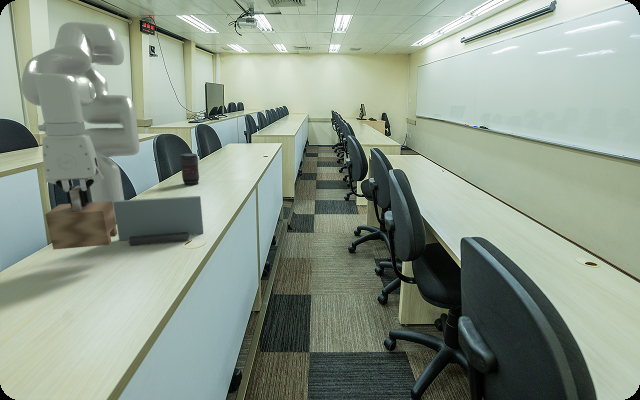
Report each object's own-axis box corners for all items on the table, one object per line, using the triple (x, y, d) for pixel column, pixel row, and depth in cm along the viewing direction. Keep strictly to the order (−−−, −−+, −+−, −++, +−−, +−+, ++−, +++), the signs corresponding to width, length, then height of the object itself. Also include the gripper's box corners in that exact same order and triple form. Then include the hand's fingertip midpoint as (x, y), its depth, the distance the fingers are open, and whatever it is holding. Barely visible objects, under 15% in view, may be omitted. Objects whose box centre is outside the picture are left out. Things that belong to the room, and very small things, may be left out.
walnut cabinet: (52, 249, 85) (40, 193, 81) (66, 237, 92) (55, 185, 88) (108, 245, 88) (99, 190, 84) (117, 233, 95) (109, 182, 91)
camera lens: (185, 186, 173) (182, 156, 169) (181, 183, 179) (178, 154, 175) (201, 184, 177) (199, 154, 173) (197, 181, 183) (194, 152, 179)
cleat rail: (129, 246, 102) (128, 239, 101) (131, 243, 104) (130, 236, 103) (188, 240, 106) (187, 234, 105) (189, 238, 108) (188, 231, 107)
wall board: (119, 240, 106) (113, 202, 102) (120, 238, 107) (114, 200, 104) (203, 233, 112) (200, 197, 108) (203, 231, 113) (200, 195, 110)
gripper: (17, 132, 76) (36, 212, 82) (98, 131, 80) (111, 208, 86) (34, 128, 83) (50, 202, 89) (108, 128, 87) (119, 199, 93)
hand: (80, 205), depth 87 cm, fingers closed on walnut cabinet, 1 cm apart
